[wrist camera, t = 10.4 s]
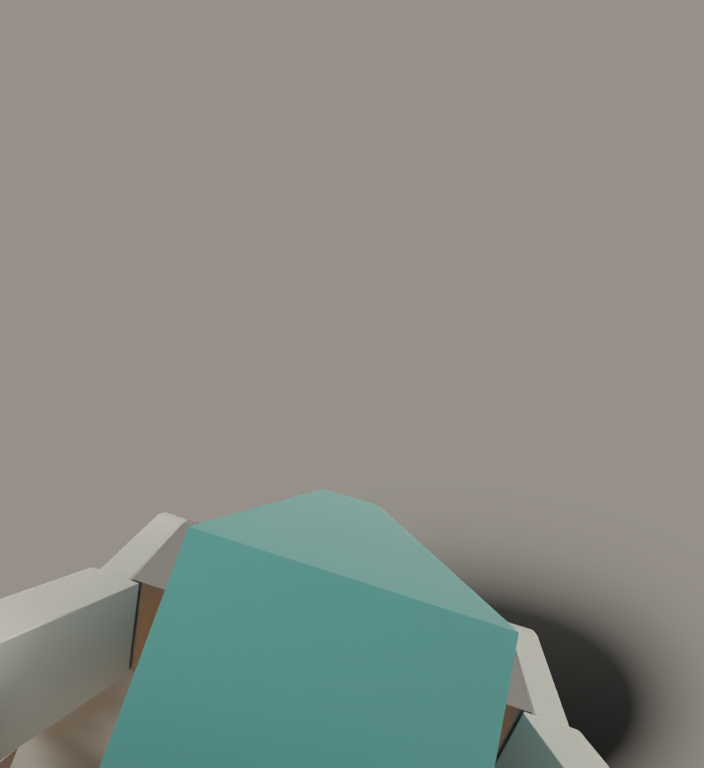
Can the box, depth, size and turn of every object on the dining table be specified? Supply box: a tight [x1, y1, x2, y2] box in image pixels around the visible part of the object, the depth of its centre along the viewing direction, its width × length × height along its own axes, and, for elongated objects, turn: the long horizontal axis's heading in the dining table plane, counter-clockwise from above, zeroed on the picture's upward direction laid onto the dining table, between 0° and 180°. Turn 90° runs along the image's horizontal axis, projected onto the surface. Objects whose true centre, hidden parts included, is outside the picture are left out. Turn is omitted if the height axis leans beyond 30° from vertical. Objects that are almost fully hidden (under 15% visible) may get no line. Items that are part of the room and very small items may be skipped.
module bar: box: [99, 489, 519, 768], centre depth 16 cm, size 4×24×3 cm, turn 0°
